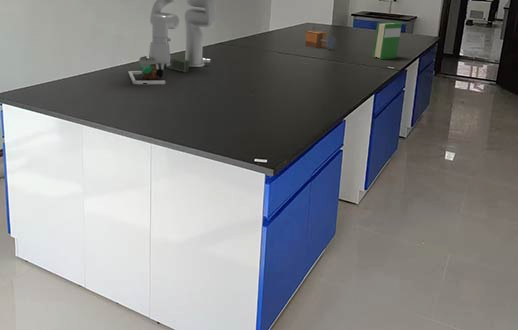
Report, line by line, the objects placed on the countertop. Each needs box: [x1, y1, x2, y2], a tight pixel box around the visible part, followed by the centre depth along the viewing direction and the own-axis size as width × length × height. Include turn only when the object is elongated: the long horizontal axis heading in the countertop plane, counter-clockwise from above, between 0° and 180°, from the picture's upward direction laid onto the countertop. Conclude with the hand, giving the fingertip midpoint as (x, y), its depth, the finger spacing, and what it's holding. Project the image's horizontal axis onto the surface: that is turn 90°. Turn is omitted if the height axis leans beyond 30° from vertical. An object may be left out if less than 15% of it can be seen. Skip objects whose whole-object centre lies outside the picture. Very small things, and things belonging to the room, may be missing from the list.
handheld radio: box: [158, 55, 190, 73], centre depth 312 cm, size 7×3×25 cm
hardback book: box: [371, 21, 403, 60], centre depth 395 cm, size 18×7×24 cm, turn 130°
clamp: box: [304, 26, 336, 50], centre depth 417 cm, size 11×20×14 cm, turn 46°
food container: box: [138, 55, 158, 81], centre depth 283 cm, size 12×6×10 cm, turn 34°
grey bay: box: [128, 70, 166, 85], centre depth 284 cm, size 15×22×2 cm
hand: (159, 76), depth 286 cm, fingers closed
